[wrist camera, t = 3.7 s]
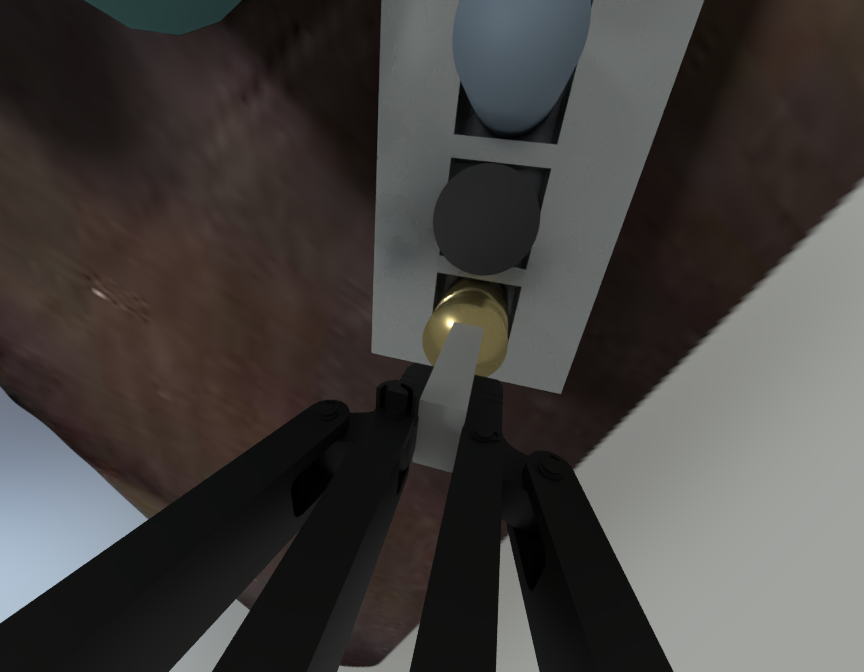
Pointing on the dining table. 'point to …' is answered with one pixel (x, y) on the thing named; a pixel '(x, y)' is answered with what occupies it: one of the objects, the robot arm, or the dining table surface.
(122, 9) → the alarm clock
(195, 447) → the dining table surface
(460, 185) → the black rounded cylinder
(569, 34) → the blue ovoid
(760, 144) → the dining table surface
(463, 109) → the white socket board
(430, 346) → the gold rounded cylinder
